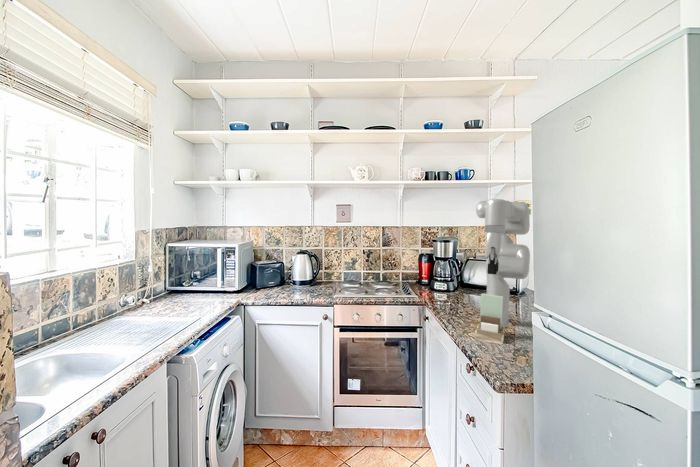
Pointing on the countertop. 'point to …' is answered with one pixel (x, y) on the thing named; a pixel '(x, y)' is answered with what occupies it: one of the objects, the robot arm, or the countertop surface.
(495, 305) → the green panel
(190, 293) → the countertop surface
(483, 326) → the white offcut
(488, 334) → the rack
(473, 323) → the shard
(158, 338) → the countertop surface
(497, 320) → the walnut offcut
